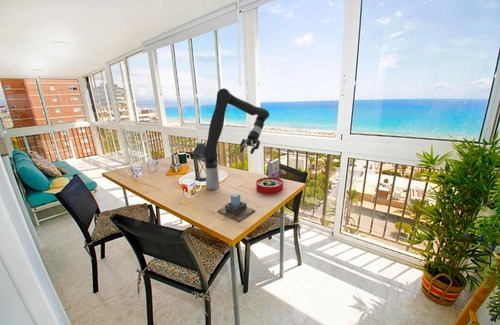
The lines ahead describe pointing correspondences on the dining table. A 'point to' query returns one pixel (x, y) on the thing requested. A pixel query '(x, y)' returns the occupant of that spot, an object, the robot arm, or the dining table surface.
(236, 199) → the light blue square peg
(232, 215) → the cradle jig
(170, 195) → the dining table surface
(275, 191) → the toy clock
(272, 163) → the candy bar box
